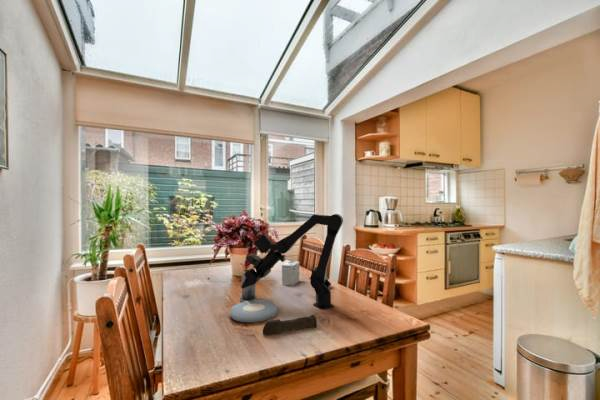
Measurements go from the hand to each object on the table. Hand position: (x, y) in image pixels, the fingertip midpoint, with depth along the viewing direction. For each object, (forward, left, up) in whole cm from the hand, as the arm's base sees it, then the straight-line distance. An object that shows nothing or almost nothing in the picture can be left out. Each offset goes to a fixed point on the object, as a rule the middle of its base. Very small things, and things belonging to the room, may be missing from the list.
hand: (246, 284), depth 127 cm
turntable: (-17, +3, -7) cm, 18 cm away
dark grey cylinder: (-1, -1, -7) cm, 7 cm away
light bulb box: (+13, -31, -7) cm, 34 cm away
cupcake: (-3, -39, -7) cm, 40 cm away
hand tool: (-37, -2, -8) cm, 38 cm away
